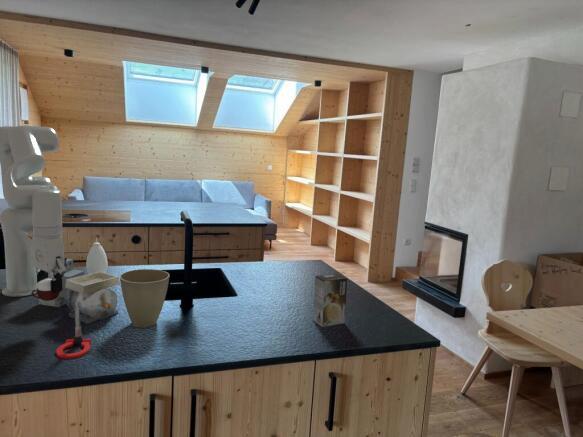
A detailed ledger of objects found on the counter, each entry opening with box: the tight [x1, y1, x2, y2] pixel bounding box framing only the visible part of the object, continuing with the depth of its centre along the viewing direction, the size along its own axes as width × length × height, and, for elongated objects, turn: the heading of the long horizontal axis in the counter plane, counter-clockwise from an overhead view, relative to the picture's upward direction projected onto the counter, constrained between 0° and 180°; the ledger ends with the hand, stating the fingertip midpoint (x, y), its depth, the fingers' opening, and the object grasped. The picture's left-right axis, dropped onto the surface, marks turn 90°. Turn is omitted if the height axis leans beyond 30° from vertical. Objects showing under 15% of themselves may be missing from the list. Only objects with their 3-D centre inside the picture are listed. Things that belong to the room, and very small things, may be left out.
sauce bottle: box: [85, 236, 109, 274], centre depth 179 cm, size 8×8×18 cm
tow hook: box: [55, 301, 93, 360], centre depth 119 cm, size 8×13×9 cm
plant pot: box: [119, 268, 171, 329], centre depth 139 cm, size 15×15×16 cm
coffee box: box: [312, 273, 348, 328], centre depth 148 cm, size 9×6×16 cm
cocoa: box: [31, 257, 68, 301], centre depth 131 cm, size 10×6×12 cm, turn 108°
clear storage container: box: [65, 271, 121, 325], centre depth 144 cm, size 16×13×13 cm
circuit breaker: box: [37, 258, 86, 308], centre depth 153 cm, size 8×14×15 cm, turn 78°
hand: (49, 288), depth 132 cm, fingers closed on cocoa, 6 cm apart
